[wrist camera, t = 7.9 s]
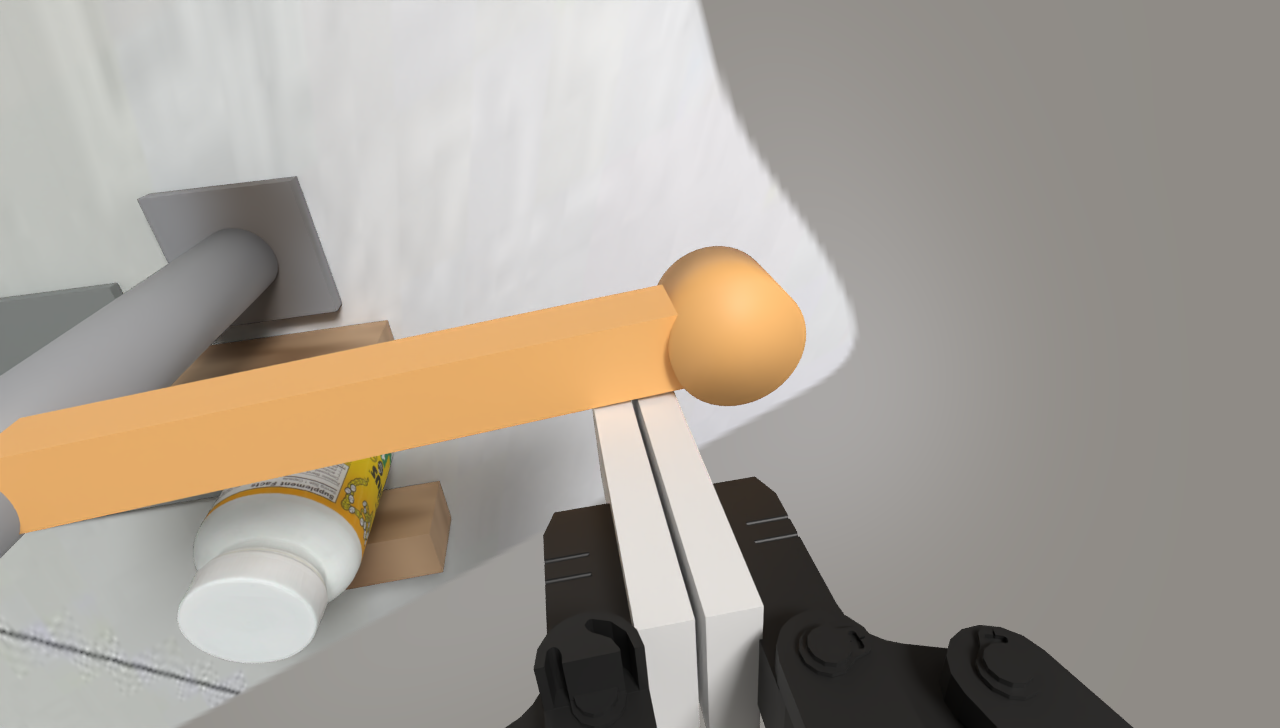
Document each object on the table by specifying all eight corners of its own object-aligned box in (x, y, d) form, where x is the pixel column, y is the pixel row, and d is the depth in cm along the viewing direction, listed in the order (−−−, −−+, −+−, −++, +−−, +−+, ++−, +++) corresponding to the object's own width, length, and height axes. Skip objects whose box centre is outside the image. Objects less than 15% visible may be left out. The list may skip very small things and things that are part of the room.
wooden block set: (285, 546, 30) (257, 605, 27) (104, 199, 21) (34, 227, 18) (451, 517, 31) (442, 571, 28) (339, 171, 22) (310, 194, 19)
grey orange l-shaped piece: (669, 210, 24) (821, 409, 12) (225, 300, 23) (-129, 623, 10) (660, 141, 22) (820, 282, 10) (188, 232, 21) (-264, 512, 9)
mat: (-11, 527, 27) (-20, 535, 26) (-183, 321, 22) (-197, 327, 21) (229, 487, 28) (224, 494, 27) (116, 282, 23) (109, 287, 22)
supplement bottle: (280, 375, 26) (162, 543, 17) (410, 412, 27) (359, 581, 19) (254, 472, 28) (138, 664, 19) (377, 501, 29) (318, 687, 21)
